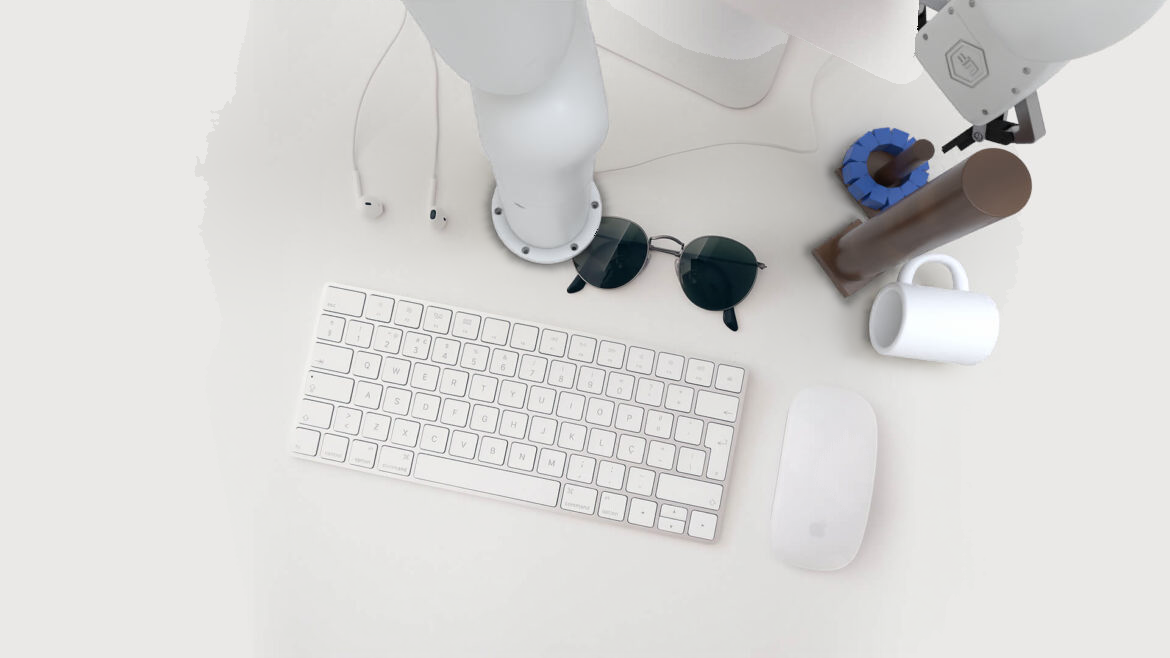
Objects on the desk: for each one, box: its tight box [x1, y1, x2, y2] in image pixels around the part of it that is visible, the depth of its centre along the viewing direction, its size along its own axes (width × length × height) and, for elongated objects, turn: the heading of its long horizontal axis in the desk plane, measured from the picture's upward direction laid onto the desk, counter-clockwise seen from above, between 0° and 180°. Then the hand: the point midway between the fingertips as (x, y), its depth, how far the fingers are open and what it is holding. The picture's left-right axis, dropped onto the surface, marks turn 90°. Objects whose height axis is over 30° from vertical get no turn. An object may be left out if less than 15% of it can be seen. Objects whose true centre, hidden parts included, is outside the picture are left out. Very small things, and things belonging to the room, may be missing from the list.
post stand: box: [834, 138, 936, 219], centre depth 70 cm, size 8×8×9 cm
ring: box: [841, 126, 931, 211], centre depth 73 cm, size 9×9×2 cm
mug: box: [868, 252, 1000, 367], centre depth 69 cm, size 12×10×8 cm
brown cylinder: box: [811, 147, 1033, 299], centre depth 61 cm, size 7×7×25 cm
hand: (923, 105), depth 62 cm, fingers open, 9 cm apart
